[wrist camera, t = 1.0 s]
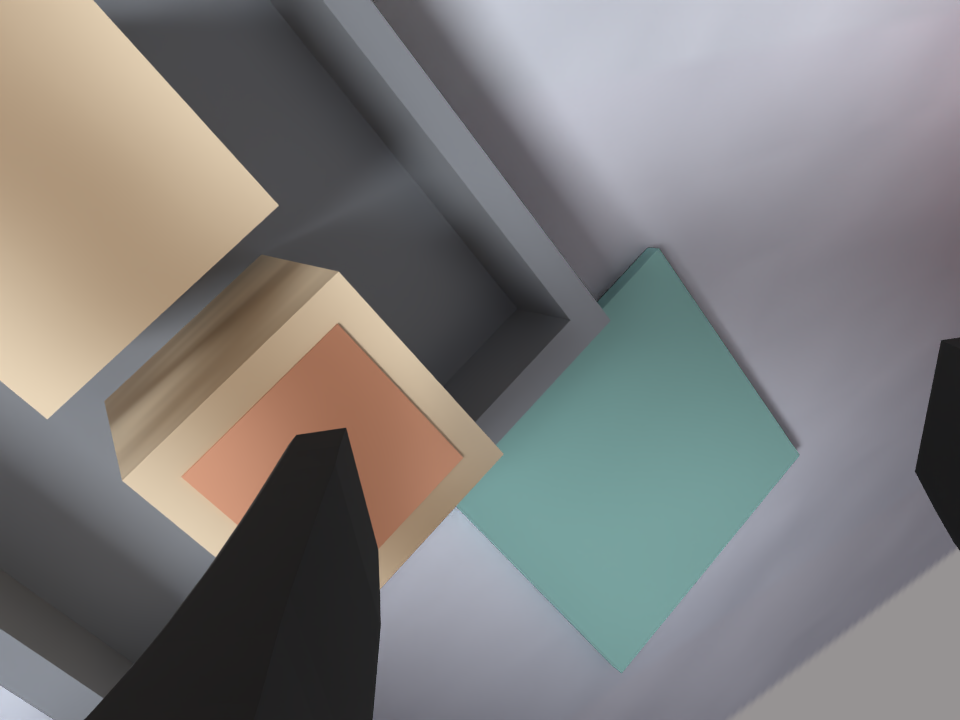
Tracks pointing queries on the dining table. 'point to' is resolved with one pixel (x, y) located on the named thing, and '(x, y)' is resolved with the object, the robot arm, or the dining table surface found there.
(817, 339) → the dining table surface
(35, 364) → the plain block
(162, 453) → the labelled block
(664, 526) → the teal mat
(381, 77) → the parts bin
